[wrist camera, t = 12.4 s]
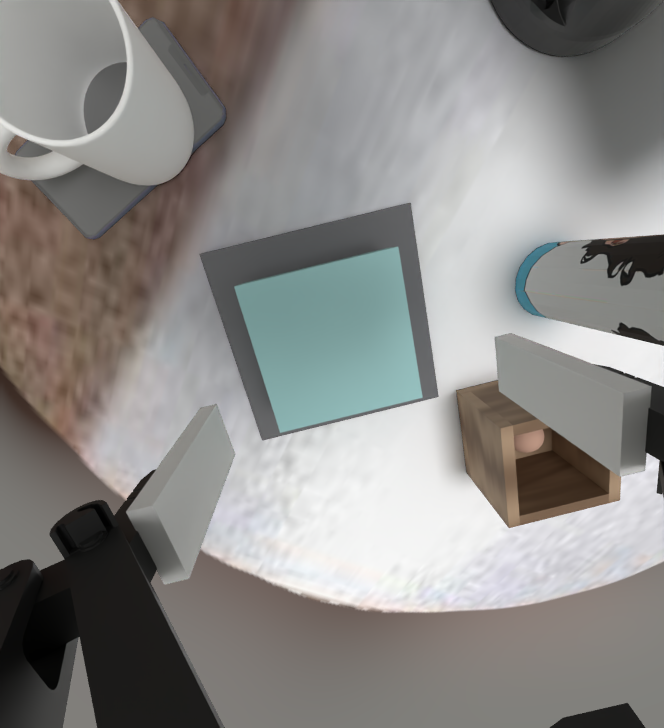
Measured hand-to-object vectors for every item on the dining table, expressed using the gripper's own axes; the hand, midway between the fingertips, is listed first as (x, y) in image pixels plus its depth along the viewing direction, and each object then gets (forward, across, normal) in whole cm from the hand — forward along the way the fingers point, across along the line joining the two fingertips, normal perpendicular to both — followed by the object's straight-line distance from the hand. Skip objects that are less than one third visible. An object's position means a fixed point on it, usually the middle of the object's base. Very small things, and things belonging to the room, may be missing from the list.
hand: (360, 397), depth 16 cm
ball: (+15, +15, -14) cm, 26 cm away
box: (+16, +15, -14) cm, 27 cm away
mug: (+16, -13, +18) cm, 27 cm away
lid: (+16, -1, 0) cm, 16 cm away
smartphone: (+17, -12, +18) cm, 28 cm away
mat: (+16, -1, 0) cm, 16 cm away
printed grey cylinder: (+17, +20, -1) cm, 26 cm away
